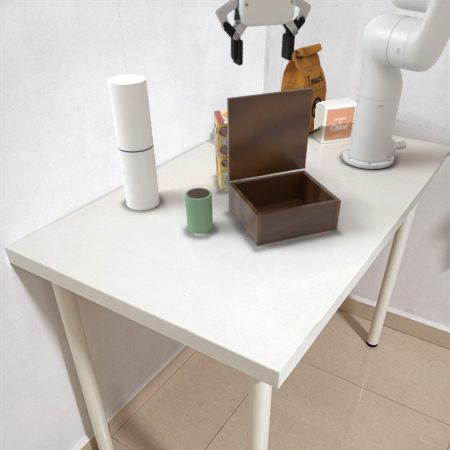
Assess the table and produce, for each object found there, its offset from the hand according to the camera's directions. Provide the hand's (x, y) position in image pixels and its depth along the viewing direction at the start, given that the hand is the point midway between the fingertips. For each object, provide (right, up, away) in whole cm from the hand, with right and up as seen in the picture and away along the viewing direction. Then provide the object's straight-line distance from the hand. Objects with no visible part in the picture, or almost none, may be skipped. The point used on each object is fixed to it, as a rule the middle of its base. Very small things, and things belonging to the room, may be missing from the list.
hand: (262, 61), depth 86 cm
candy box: (-7, -17, +24) cm, 30 cm away
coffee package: (+15, +5, +50) cm, 53 cm away
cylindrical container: (-25, -22, +17) cm, 37 cm away
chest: (+4, -28, +9) cm, 30 cm away
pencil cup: (-12, -30, +7) cm, 33 cm away
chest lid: (+2, -12, +5) cm, 13 cm away
